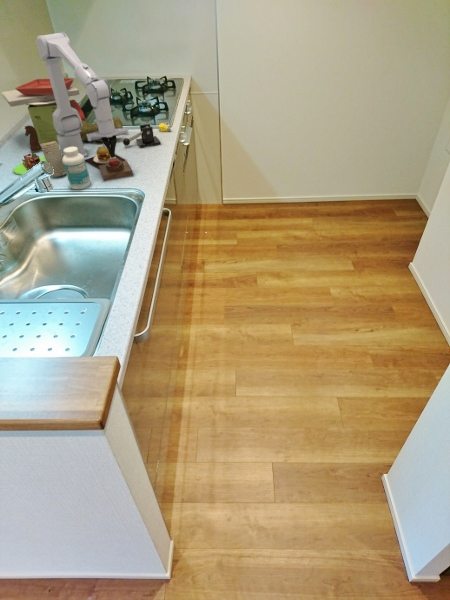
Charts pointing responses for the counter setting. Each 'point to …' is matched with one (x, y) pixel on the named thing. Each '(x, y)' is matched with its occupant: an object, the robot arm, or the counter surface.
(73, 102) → the decorative object
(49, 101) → the plate
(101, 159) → the hamburger
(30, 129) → the chess piece
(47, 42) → the robot arm
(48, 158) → the carving
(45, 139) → the protein box
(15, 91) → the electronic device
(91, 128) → the stone tool
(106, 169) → the button block
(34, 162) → the brown lump green base
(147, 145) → the bracket
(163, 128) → the light bulb
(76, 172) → the pill bottle
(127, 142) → the lever
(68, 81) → the plant saucer
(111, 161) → the button
